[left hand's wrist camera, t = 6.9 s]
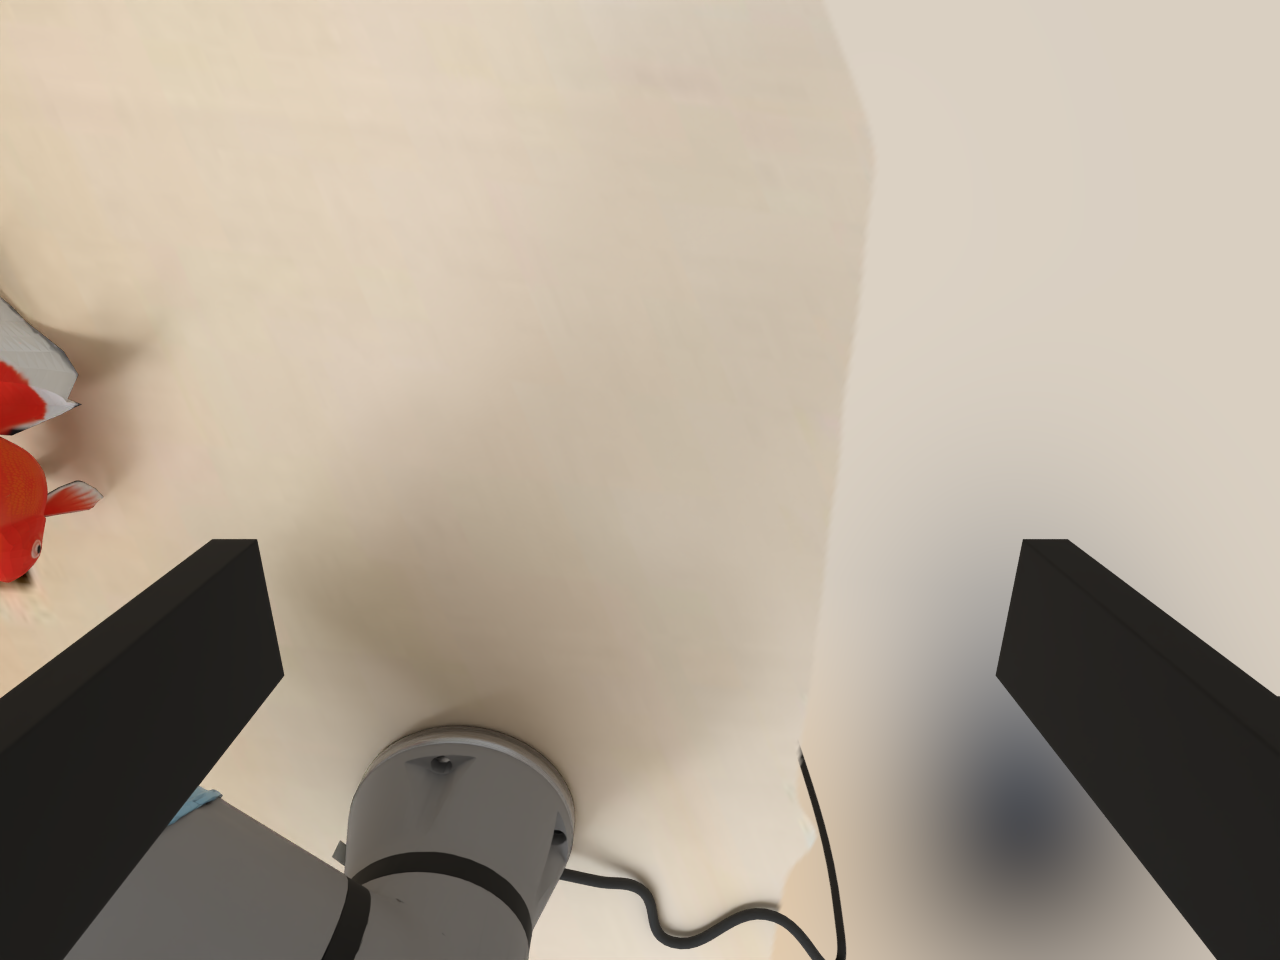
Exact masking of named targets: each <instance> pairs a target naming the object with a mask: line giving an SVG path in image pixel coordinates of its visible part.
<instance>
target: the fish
mask: <svg viewBox="0 0 1280 960" xmlns="http://www.w3.org/2000/svg"><path fill="white" fill-rule="evenodd" d="M77 377H78V373H77V372H76V370H75V368H74V367H73V365H72V364H71V362H70V361H69V359H68V357H67V356H66V354H65V353H64V351H63V350H61V349H60V348H59V347H58V346H56V345H55V344H54V343H53V342H51V341H50V340H49V339H48V338H46V337H45V336H44V335H43V334H41V333H40V332H39V331H37V330H36V329H35V328H34V327H32V326H31V325H30V324H28V323H27V322H26V321H25V320H24V319H23V318H22V317H21V316H20V315H19V314H18V313H17V312H16V311H15V310H14V309H13V307H12V306H10V305H9V304H8V303H7V302H6V301H5V300H3V299H2V298H1V297H0V435H14V434H16V433H19V432H21V431H23V430H26V429H28V428H30V427H32V426H35V425H37V424H39V423H42V422H44V421H46V420H49V419H51V418H54V417H56V416H59V415H61V414H63V413H65V412H67V411H68V410H70V409H72V408H74V407H76V406H79V405H82V404H79V403H76V402H74V401H71V400H69V399H68V397H69V395H70V392H71V390H72V388H73V386H74V383H75V381H76V379H77ZM102 498H103V496H102V495H101V494H100V493H99V492H98V491H97V490H96V489H95V488H94V487H92V486H90V485H88V484H87V483H85V482H82V481H74V482H71V483H69V484H66V485H64V486H61V487H59V488H57V489H55V490H53V491H52V492H50V493H48V491H47V483H46V477H45V474H44V472H43V470H42V468H41V466H40V465H39V464H38V462H37V461H36V460H35V458H34V457H33V456H32V455H31V454H30V453H28V452H27V451H26V450H24V449H23V448H21V447H19V446H18V445H16V444H14V443H12V442H10V441H8V440H6V439H4V438H2V437H0V581H3V582H8V583H9V582H11V581H13V580H15V579H17V578H19V577H20V576H22V575H23V574H25V573H26V572H27V571H28V570H29V569H30V568H31V567H32V566H33V565H34V563H35V562H36V561H37V559H38V557H39V556H40V553H41V549H42V540H43V533H44V527H45V522H46V518H45V517H48V516H53V515H59V514H65V513H72V512H79V511H84V510H89V509H91V508H93V507H94V505H95V504H96V503H97V501H99V500H100V499H102Z"/></svg>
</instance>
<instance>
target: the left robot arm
mask: <svg viewBox="0 0 1280 960" xmlns="http://www.w3.org/2000/svg"><path fill="white" fill-rule="evenodd" d="M283 677H284V671H283V666H282V661H281V656H280V651H279V646H278V641H277V637H276V632H275V627H274V622H273V617H272V612H271V607H270V602H269V597H268V592H267V587H266V582H265V577H264V572H263V567H262V562H261V557H260V552H259V547H258V542H257V539H212V540H211V541H209V542H208V543H207V544H205V545H204V546H203V547H201V548H200V549H199V550H197V551H196V552H195V553H193V554H192V555H191V556H189V557H188V558H187V559H185V560H184V561H183V562H181V563H180V564H179V565H177V566H176V567H175V568H173V569H172V570H171V571H169V572H168V573H167V574H165V575H164V576H163V577H161V578H160V579H159V580H157V581H156V582H155V583H153V584H152V585H151V586H149V587H148V588H147V589H145V590H144V591H143V592H141V593H140V594H139V595H137V596H136V597H135V598H133V599H132V600H131V601H129V602H128V603H127V604H125V605H124V606H123V607H121V608H120V609H119V610H117V611H116V612H115V613H113V614H112V615H111V616H109V617H108V618H107V619H105V620H104V621H103V622H101V623H100V624H99V625H97V626H96V627H95V628H93V629H92V630H91V631H89V632H88V633H87V634H85V635H84V636H83V637H81V638H80V639H79V640H77V641H76V642H75V643H73V644H72V645H71V646H69V647H68V648H67V649H65V650H64V651H63V652H61V653H60V654H59V655H57V656H56V657H55V658H53V659H52V660H51V661H49V662H48V663H47V664H45V665H44V666H43V667H41V668H40V669H39V670H37V671H36V672H35V673H33V674H32V675H31V676H29V677H28V678H27V679H25V680H24V681H23V682H21V683H20V684H19V685H17V686H16V687H15V688H13V689H12V690H11V691H9V692H8V693H7V694H5V695H4V696H3V697H1V698H0V960H528V957H529V949H530V942H531V937H532V931H533V929H534V927H535V925H536V923H537V921H538V919H539V917H540V915H541V913H542V911H543V909H544V907H545V906H546V904H547V902H548V900H549V898H550V896H551V894H552V892H553V890H554V888H555V886H556V884H557V882H558V881H559V879H560V880H565V881H569V882H574V883H579V884H584V885H588V886H593V887H599V888H607V889H624V890H629V891H632V892H635V893H637V894H638V895H639V896H641V898H642V899H643V901H644V903H645V905H646V909H647V913H648V919H649V924H650V928H651V931H652V933H653V935H654V936H655V937H656V939H657V940H658V941H660V942H661V943H662V944H664V945H666V946H669V947H671V948H677V949H690V948H694V947H698V946H700V945H703V944H705V943H707V942H709V941H711V940H712V939H714V938H716V937H717V936H719V935H721V934H722V933H724V932H725V931H727V930H729V929H731V928H732V927H734V926H736V925H738V924H740V923H743V922H746V921H750V920H756V919H759V920H768V921H772V922H775V923H777V924H779V925H781V926H783V927H784V928H786V929H787V930H788V931H789V932H790V933H791V934H792V935H793V936H794V937H795V938H796V939H797V940H798V941H799V943H800V944H801V945H802V946H803V948H804V949H805V951H806V952H807V953H808V955H809V956H810V957H811V959H812V960H825V959H824V958H823V957H822V956H821V954H820V953H819V952H818V950H817V949H816V948H815V946H814V945H813V943H812V942H811V941H810V939H809V938H808V937H807V936H806V934H805V933H804V932H803V931H802V930H801V929H800V928H799V927H798V926H797V925H796V924H795V923H794V922H793V921H792V920H790V919H789V918H787V917H786V916H784V915H782V914H780V913H778V912H776V911H773V910H769V909H763V908H753V909H747V910H743V911H740V912H738V913H735V914H733V915H731V916H729V917H728V918H726V919H724V920H722V921H721V922H719V923H718V924H716V925H714V926H713V927H711V928H710V929H708V930H706V931H704V932H702V933H700V934H698V935H695V936H692V937H688V938H678V937H673V936H670V935H668V934H666V933H665V932H664V931H663V930H662V928H661V926H660V924H659V920H658V915H657V910H656V905H655V901H654V898H653V896H652V894H651V893H650V891H649V890H648V889H647V888H646V887H645V886H644V885H642V884H641V883H639V882H637V881H635V880H632V879H628V878H618V877H604V876H598V875H593V874H588V873H584V872H579V871H574V870H570V869H565V866H566V864H567V861H568V859H569V856H570V853H571V849H572V843H573V834H574V824H575V812H574V805H573V800H572V797H571V794H570V791H569V789H568V787H567V785H566V783H565V781H564V779H563V778H562V776H561V775H560V773H559V772H558V771H557V770H556V768H555V767H554V766H553V765H552V764H551V763H550V762H549V761H548V760H547V759H546V758H545V757H544V756H543V755H541V754H540V753H539V752H537V751H536V750H535V749H533V748H532V747H530V746H528V745H527V744H525V743H523V742H521V741H519V740H517V739H515V738H513V737H511V736H508V735H505V734H503V733H499V732H496V731H493V730H488V729H484V728H477V727H469V726H446V727H437V728H432V729H427V730H423V731H420V732H416V733H414V734H411V735H408V736H406V737H404V738H402V739H400V740H398V741H396V742H395V743H393V744H392V745H390V746H389V747H388V748H386V749H385V750H384V751H382V752H381V753H380V754H379V755H378V756H377V757H376V758H375V760H374V761H373V762H372V763H371V765H370V766H369V768H368V769H367V771H366V772H365V774H364V776H363V778H362V781H361V783H360V785H359V787H358V789H357V791H356V793H355V795H354V797H353V800H352V803H351V807H350V813H349V819H348V830H347V843H346V844H344V843H343V842H342V841H340V842H339V844H338V846H337V848H336V850H335V852H334V854H333V856H332V857H333V858H334V859H336V860H337V861H338V862H340V863H341V864H342V865H344V866H345V871H344V874H343V873H342V872H340V871H338V870H337V869H335V868H333V867H332V866H330V865H328V864H327V863H325V862H324V861H322V860H320V859H319V858H317V857H315V856H314V855H312V854H310V853H309V852H307V851H306V850H304V849H302V848H301V847H299V846H297V845H296V844H294V843H292V842H291V841H289V840H288V839H286V838H284V837H283V836H281V835H279V834H278V833H276V832H274V831H273V830H271V829H270V828H268V827H266V826H265V825H263V824H261V823H260V822H258V821H256V820H255V819H253V818H251V817H250V816H248V815H247V814H245V813H243V812H242V811H240V810H238V809H237V808H235V807H233V806H232V805H230V804H229V803H227V802H226V801H224V800H223V799H221V797H222V796H223V795H222V794H221V793H220V792H218V791H216V790H209V791H208V790H206V789H204V788H202V787H200V786H199V784H200V783H201V782H202V781H203V779H204V778H205V777H206V775H207V774H208V773H209V772H210V770H211V769H212V768H213V766H214V765H215V764H216V763H217V761H218V760H219V759H220V757H221V756H222V755H223V754H224V752H225V751H226V750H227V748H228V747H229V746H230V745H231V743H232V742H233V741H234V739H235V738H236V737H237V736H238V734H239V733H240V732H241V730H242V729H243V728H244V727H245V725H246V724H247V723H248V721H249V720H250V719H251V718H252V716H253V715H254V714H255V712H256V711H257V710H258V709H259V707H260V706H261V705H262V703H263V702H264V701H265V700H266V698H267V697H268V696H269V694H270V693H271V692H272V691H273V689H274V688H275V687H276V685H277V684H278V683H279V682H280V680H281V679H282V678H283ZM996 677H997V678H998V679H999V680H1000V682H1001V683H1002V684H1003V685H1004V687H1005V688H1006V689H1007V691H1008V692H1009V693H1010V694H1011V696H1012V697H1013V698H1014V700H1015V701H1016V702H1017V703H1018V705H1019V706H1020V707H1021V709H1022V710H1023V711H1024V712H1025V714H1026V715H1027V716H1028V718H1029V719H1030V720H1031V721H1032V723H1033V724H1034V725H1035V727H1036V728H1037V729H1038V730H1039V732H1040V733H1041V734H1042V736H1043V737H1044V738H1045V739H1046V741H1047V742H1048V743H1049V745H1050V746H1051V747H1052V748H1053V750H1054V751H1055V752H1056V754H1057V755H1058V756H1059V757H1060V759H1061V760H1062V761H1063V763H1064V764H1065V765H1066V766H1067V768H1068V769H1069V770H1070V772H1071V773H1072V774H1073V775H1074V777H1075V778H1076V779H1077V781H1078V782H1079V783H1080V784H1081V786H1082V787H1083V788H1084V790H1085V791H1086V792H1087V793H1088V795H1089V796H1090V797H1091V798H1092V800H1093V801H1094V802H1095V804H1096V805H1097V806H1098V808H1099V809H1100V810H1101V811H1102V813H1103V814H1104V815H1105V817H1106V818H1107V819H1108V820H1109V822H1110V823H1111V824H1112V826H1113V827H1114V828H1115V829H1116V831H1117V832H1118V833H1119V834H1120V836H1121V837H1122V838H1123V840H1124V841H1125V842H1126V844H1127V845H1128V846H1129V847H1130V849H1131V850H1132V851H1133V853H1134V854H1135V855H1136V856H1137V858H1138V859H1139V860H1140V862H1141V863H1142V864H1143V865H1144V867H1145V868H1146V869H1147V870H1148V872H1149V873H1150V874H1151V876H1152V877H1153V878H1154V880H1155V881H1156V882H1157V883H1158V885H1159V886H1160V887H1161V888H1162V890H1163V891H1164V892H1165V894H1166V895H1167V896H1168V898H1169V899H1170V900H1171V901H1172V903H1173V904H1174V905H1175V907H1176V908H1177V909H1178V910H1179V912H1180V913H1181V914H1182V916H1183V917H1184V918H1185V919H1186V921H1187V922H1188V923H1189V924H1190V926H1191V927H1192V928H1193V930H1194V931H1195V932H1196V934H1197V935H1198V936H1199V937H1200V939H1201V940H1202V941H1203V943H1204V944H1205V945H1206V946H1207V948H1208V949H1209V950H1210V952H1211V953H1212V954H1213V955H1214V957H1215V958H1216V959H1217V960H1280V696H1276V695H1274V694H1273V693H1272V692H1270V691H1269V690H1268V689H1266V688H1265V687H1264V686H1262V685H1261V684H1260V683H1259V682H1257V681H1256V680H1255V679H1253V678H1252V677H1251V676H1249V675H1248V674H1246V673H1245V672H1244V671H1243V670H1241V669H1240V668H1239V667H1237V666H1236V665H1235V664H1233V663H1232V662H1231V661H1229V660H1228V659H1227V658H1225V657H1224V656H1223V655H1221V654H1220V653H1219V652H1217V651H1216V650H1215V649H1213V648H1212V647H1211V646H1209V645H1208V644H1207V643H1205V642H1204V641H1203V640H1201V639H1200V638H1199V637H1197V636H1196V635H1195V634H1193V633H1192V632H1190V631H1189V630H1188V629H1187V628H1185V627H1184V626H1183V625H1181V624H1180V623H1179V622H1177V621H1176V620H1175V619H1173V618H1172V617H1171V616H1169V615H1168V614H1166V613H1165V612H1164V611H1163V610H1161V609H1160V608H1159V607H1157V606H1156V605H1155V604H1153V603H1152V602H1150V601H1149V600H1148V599H1147V598H1145V597H1144V596H1143V595H1141V594H1140V593H1139V592H1137V591H1136V590H1134V589H1133V588H1132V587H1131V586H1129V585H1128V584H1127V583H1125V582H1124V581H1123V580H1121V579H1120V578H1119V577H1117V576H1116V575H1115V574H1113V573H1112V572H1111V571H1109V570H1108V569H1107V568H1105V567H1104V566H1103V565H1101V564H1100V563H1099V562H1097V561H1096V560H1095V559H1093V558H1092V557H1091V556H1089V555H1088V554H1087V553H1085V552H1084V551H1083V550H1081V549H1080V548H1079V547H1077V546H1076V545H1075V544H1073V543H1072V542H1071V541H1069V540H1068V539H1023V542H1022V547H1021V552H1020V557H1019V562H1018V567H1017V572H1016V577H1015V582H1014V587H1013V592H1012V597H1011V602H1010V607H1009V612H1008V617H1007V622H1006V627H1005V632H1004V637H1003V641H1002V647H1001V651H1000V656H999V661H998V667H997V672H996ZM799 765H800V768H801V771H802V774H803V777H804V781H805V784H806V787H807V790H808V794H809V797H810V800H811V804H812V807H813V811H814V814H815V818H816V822H817V825H818V829H819V833H820V838H821V841H822V846H823V851H824V855H825V860H826V865H827V870H828V876H829V882H830V888H831V895H832V903H833V911H834V919H835V927H836V936H837V956H836V959H835V960H846V939H845V930H844V923H843V916H842V908H841V901H840V894H839V887H838V882H837V876H836V871H835V865H834V860H833V856H832V852H831V847H830V843H829V839H828V835H827V831H826V827H825V823H824V820H823V816H822V813H821V809H820V806H819V803H818V799H817V796H816V793H815V790H814V786H813V783H812V780H811V777H810V774H809V771H808V768H807V765H806V762H805V759H804V756H803V753H802V750H801V747H800V756H799Z"/></svg>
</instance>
